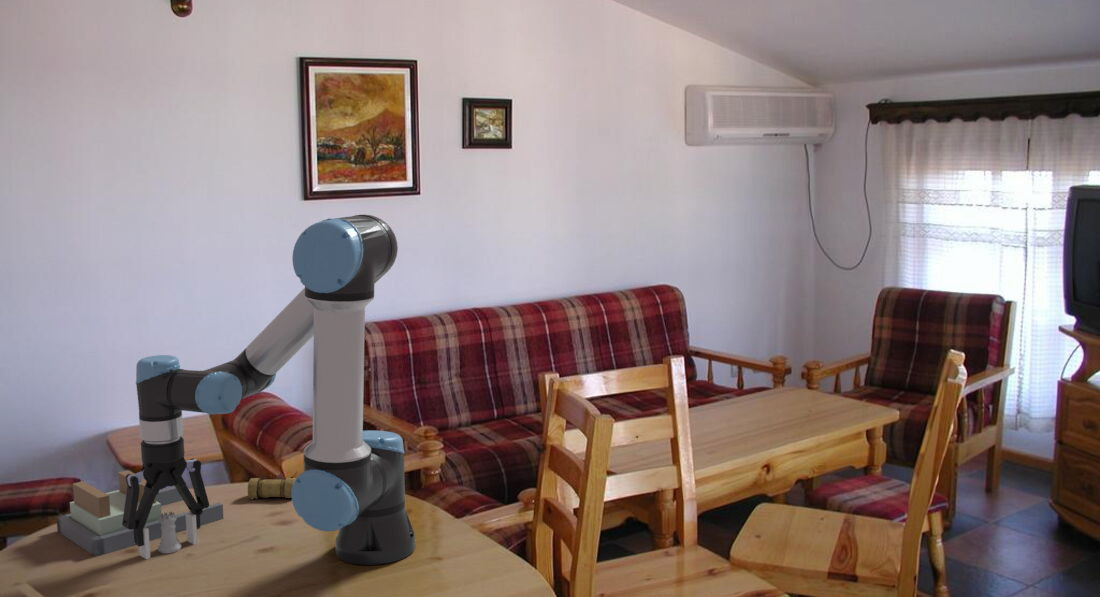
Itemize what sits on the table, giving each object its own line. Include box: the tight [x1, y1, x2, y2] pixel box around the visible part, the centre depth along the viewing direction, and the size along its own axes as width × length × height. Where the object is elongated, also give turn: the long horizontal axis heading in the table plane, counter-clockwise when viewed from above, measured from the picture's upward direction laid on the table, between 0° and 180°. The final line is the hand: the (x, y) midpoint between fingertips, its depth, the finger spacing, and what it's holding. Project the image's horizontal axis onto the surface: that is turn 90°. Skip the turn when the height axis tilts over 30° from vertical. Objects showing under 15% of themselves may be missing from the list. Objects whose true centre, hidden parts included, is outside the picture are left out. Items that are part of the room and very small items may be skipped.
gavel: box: [247, 472, 297, 500], centre depth 229 cm, size 21×5×10 cm
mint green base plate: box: [69, 469, 163, 536], centre depth 199 cm, size 14×12×10 cm
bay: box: [56, 486, 225, 558], centre depth 203 cm, size 18×26×4 cm
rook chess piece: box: [157, 511, 182, 554], centre depth 191 cm, size 4×4×8 cm
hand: (169, 553), depth 191 cm, fingers open, 9 cm apart
